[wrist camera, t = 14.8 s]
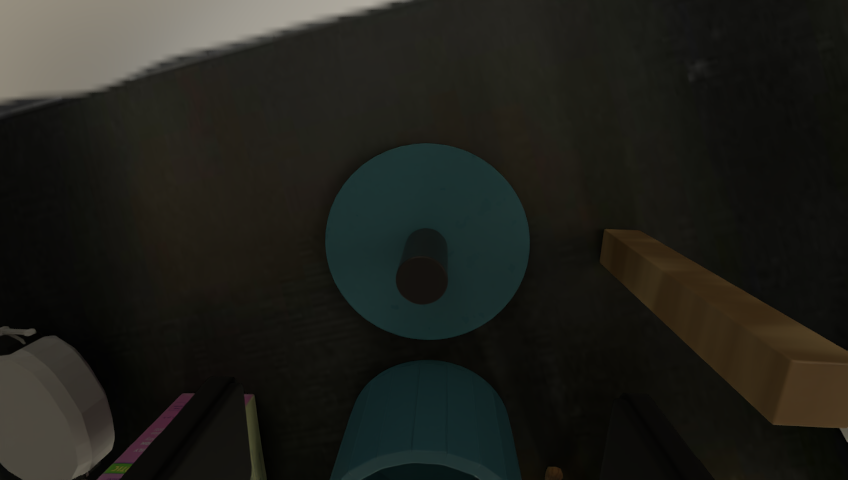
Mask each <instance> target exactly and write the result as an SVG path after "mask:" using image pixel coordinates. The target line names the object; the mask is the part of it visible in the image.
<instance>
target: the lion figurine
mask: <svg viewBox="0 0 848 480" xmlns="http://www.w3.org/2000/svg"><path fill="white" fill-rule="evenodd" d="M562 477H563V474H562V472H561V469H560V468H557V467H548V468H547V470H546V473H545V480H561V479H562Z"/></svg>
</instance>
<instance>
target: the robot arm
mask: <svg viewBox="0 0 848 480" xmlns="http://www.w3.org/2000/svg"><path fill="white" fill-rule="evenodd" d="M840 430H841V431H842V433H843V435H844V437H845V439H846V441H847V442H848V427H847V428H840ZM251 474H252V465H251V455H250V446H249V436H248V427H247V417H246V408H245V398H244V389H243V385H242V384H240V383H237V380H236V379H235V378H234V377H216V376H212V377H209V378H208V379H207V380H206V381H205V382H204V384H203V385H202V386H201V387H200V388H199V389H198V391H197V392H196V393H195V394H194V395H193V396H192V398H191V399H190V400H189V401H188V402H187V403H186V404H185V406H184V407H183V408H182V409H181V410H180V411H179V413H178V414H177V415H176V416H175V417H174V418H173V420H172V421H171V422H170V423H169V424H168V425H167V426H166V428H165V429H164V430H163V431H162V432H161V433H160V434H159V435H158V436H157V437H156V438H155V439H154V440H153V441H152V442H151V444H150V445H149V446H148V447H147V448H146V449H145V450H144V452H143V453H142V454H141V455H140V456H139V457H138V459H137V460H136V461H135V462H134V463H133V464H132V465H131V467H130V468H129V469H128V470H127V471H126V472H125V474H124V475H123V476H122V477H121V478H120V479H119V480H250V479H251ZM599 480H714V478H713V477H712V476H711V474H710V473H709V472H708V471H707V469H706V468H705V467H704V465H703V464H702V463H701V461H700V460H699V459H698V458H697V457H696V456H695V455H694V454H693V452H692V451H691V450H690V448H689V447H688V446H687V444H686V443H685V442H684V440H683V439H682V438H681V436H680V435H679V434H678V432H677V431H676V430H675V429H674V427H673V426H672V425H671V423H670V422H669V421H668V419H667V418H666V417H665V415H664V414H663V413H662V411H661V410H660V409H659V407H658V406H657V405H656V403H655V402H654V401H653V400H652V398H651V397H650V396H649V395H647V394H634V393H623V394H622V395H621V396H620V399H615V400H614V402H613V406H612V411H611V417H610V422H609V428H608V433H607V439H606V445H605V450H604V456H603V461H602V467H601V473H600V478H599Z"/></svg>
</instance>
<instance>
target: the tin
mask: <svg viewBox="0 0 848 480" xmlns="http://www.w3.org/2000/svg"><path fill="white" fill-rule="evenodd" d="M330 480H522V477H521V473H520V468H519V463H518V459H517V454H516V449H515V444H514V440H513V435H512V430H511V426H510V422H509V418H508V414H507V411H506V408H505V406H504V404H503V402H502V400H501V398H500V397H499V395H498V394H497V392H496V391H495V390H494V389H493V388H492V386H491V385H490V384H489V383H488V382H486V381H485V380H484V379H483V378H482V377H480V376H479V375H477V374H476V373H474V372H472V371H470V370H468V369H466V368H464V367H462V366H459V365H456V364H453V363H449V362H444V361H437V360H418V361H410V362H406V363H402V364H399V365H396V366H394V367H391V368H389V369H387V370H385V371H383V372H382V373H380V374H379V375H377V376H376V377H375V378H373V379H372V380H371V381H370V382H369V383H368V384H367V385H366V386H365V387H364V389H363V390H362V391H361V392H360V394H359V396H358V398H357V399H356V402H355V404H354V407H353V410H352V412H351V415H350V418H349V421H348V424H347V427H346V430H345V433H344V436H343V439H342V443H341V446H340V449H339V452H338V455H337V458H336V461H335V465H334V468H333V471H332V474H331V477H330Z"/></svg>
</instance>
